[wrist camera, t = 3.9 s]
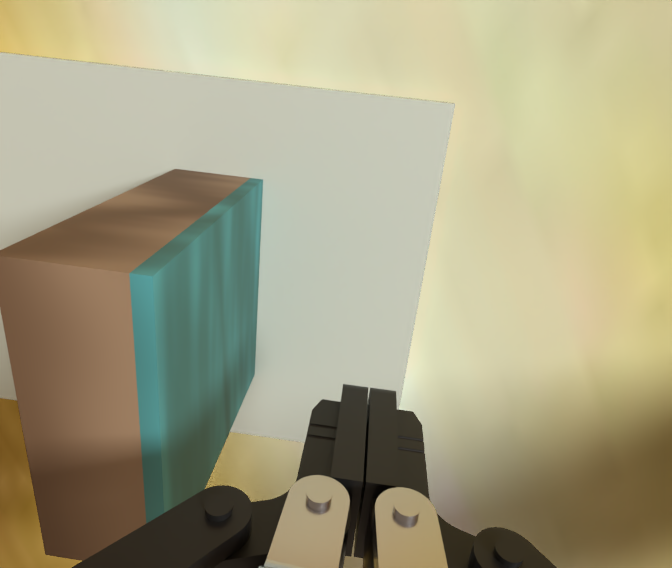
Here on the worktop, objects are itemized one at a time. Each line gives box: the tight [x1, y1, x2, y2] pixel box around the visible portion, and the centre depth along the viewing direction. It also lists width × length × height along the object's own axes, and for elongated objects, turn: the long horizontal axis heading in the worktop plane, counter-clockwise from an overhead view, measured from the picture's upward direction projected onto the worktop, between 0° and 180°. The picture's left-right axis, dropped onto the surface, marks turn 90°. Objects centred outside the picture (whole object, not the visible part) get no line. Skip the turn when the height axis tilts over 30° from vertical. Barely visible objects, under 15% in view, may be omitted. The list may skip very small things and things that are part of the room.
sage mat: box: [0, 52, 455, 443], centre depth 22 cm, size 23×16×1 cm
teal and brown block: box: [0, 169, 263, 561], centre depth 17 cm, size 4×9×10 cm, turn 174°
